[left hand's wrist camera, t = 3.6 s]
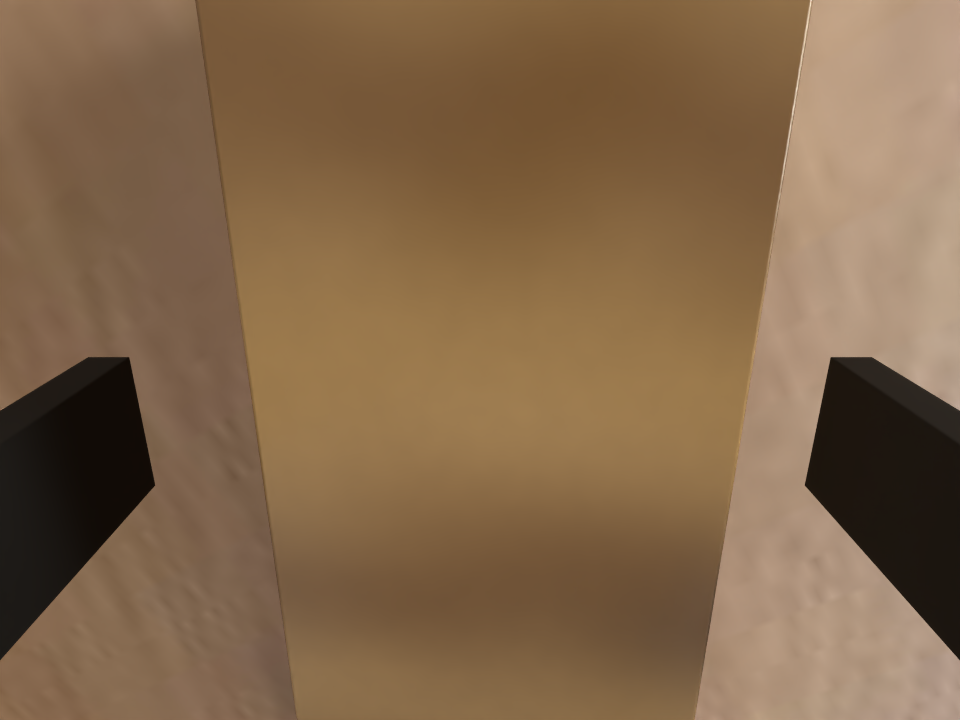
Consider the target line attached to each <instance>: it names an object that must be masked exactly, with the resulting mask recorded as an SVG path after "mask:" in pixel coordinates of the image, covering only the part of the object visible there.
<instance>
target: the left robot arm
mask: <svg viewBox="0 0 960 720" xmlns="http://www.w3.org/2000/svg"><path fill="white" fill-rule="evenodd" d="M154 486H155V482H154V477H153V472H152V467H151V463H150V458H149V453H148V448H147V443H146V438H145V433H144V428H143V423H142V418H141V413H140V408H139V403H138V398H137V393H136V389H135V384H134V379H133V374H132V369H131V364H130V359H129V357H88V358H86V359H85V360H83V361H81V362H80V363H78V364H76V365H75V366H73V367H71V368H70V369H68V370H67V371H65V372H63V373H62V374H60V375H58V376H57V377H55V378H53V379H52V380H50V381H48V382H47V383H45V384H44V385H42V386H40V387H39V388H37V389H35V390H34V391H32V392H30V393H29V394H27V395H25V396H24V397H22V398H21V399H19V400H17V401H16V402H14V403H12V404H11V405H9V406H7V407H6V408H4V409H2V410H1V411H0V660H1V659H2V658H3V656H4V655H5V654H6V653H7V652H8V651H9V650H10V649H11V647H12V646H13V645H14V644H15V643H16V642H17V641H18V640H19V638H20V637H21V636H22V635H23V634H24V633H25V632H26V630H27V629H28V628H29V627H30V626H31V625H32V624H33V623H34V621H35V620H36V619H37V618H38V617H39V616H40V615H41V614H42V612H43V611H44V610H45V609H46V608H47V607H48V606H49V605H50V603H51V602H52V601H53V600H54V599H55V598H56V597H57V596H58V594H59V593H60V592H61V591H62V590H63V589H64V588H65V586H66V585H67V584H68V583H69V582H70V581H71V580H72V579H73V577H74V576H75V575H76V574H77V573H78V572H79V571H80V570H81V568H82V567H83V566H84V565H85V564H86V563H87V562H88V561H89V559H90V558H91V557H92V556H93V555H94V554H95V553H96V552H97V550H98V549H99V548H100V547H101V546H102V545H103V544H104V543H105V541H106V540H107V539H108V538H109V537H110V536H111V535H112V533H113V532H114V531H115V530H116V529H117V528H118V527H119V526H120V524H121V523H122V522H123V521H124V520H125V519H126V518H127V517H128V515H129V514H130V513H131V512H132V511H133V510H134V509H135V508H136V506H137V505H138V504H139V503H140V502H141V501H142V500H143V499H144V497H145V496H146V495H147V494H148V493H149V492H150V491H151V489H152V488H153V487H154ZM805 486H806V487H807V488H808V489H809V491H810V492H811V493H812V494H813V495H814V496H815V497H816V499H817V500H818V501H819V502H820V503H821V504H822V505H823V506H824V508H825V509H826V510H827V511H828V512H829V513H830V514H831V515H832V517H833V518H834V519H835V520H836V521H837V522H838V523H839V524H840V526H841V527H842V528H843V529H844V530H845V531H846V532H847V533H848V535H849V536H850V537H851V538H852V539H853V540H854V541H855V543H856V544H857V545H858V546H859V547H860V548H861V549H862V550H863V552H864V553H865V554H866V555H867V556H868V557H869V558H870V559H871V561H872V562H873V563H874V564H875V565H876V566H877V567H878V568H879V570H880V571H881V572H882V573H883V574H884V575H885V576H886V577H887V579H888V580H889V581H890V582H891V583H892V584H893V585H894V586H895V588H896V589H897V590H898V591H899V592H900V593H901V594H902V596H903V597H904V598H905V599H906V600H907V601H908V602H909V603H910V605H911V606H912V607H913V608H914V609H915V610H916V611H917V612H918V614H919V615H920V616H921V617H922V618H923V619H924V620H925V621H926V623H927V624H928V625H929V626H930V627H931V628H932V629H933V630H934V632H935V633H936V634H937V635H938V636H939V637H940V638H941V640H942V641H943V642H944V643H945V644H946V645H947V646H948V647H949V649H950V650H951V651H952V652H953V653H954V654H955V655H956V656H957V658H958V659H959V660H960V411H959V410H958V409H956V408H954V407H953V406H951V405H949V404H948V403H946V402H944V401H943V400H941V399H939V398H938V397H936V396H935V395H933V394H931V393H930V392H928V391H926V390H925V389H923V388H921V387H920V386H918V385H916V384H915V383H913V382H912V381H910V380H908V379H907V378H905V377H903V376H902V375H900V374H898V373H897V372H895V371H893V370H892V369H890V368H889V367H887V366H885V365H884V364H882V363H880V362H879V361H877V360H875V359H874V358H872V357H831V359H830V364H829V369H828V374H827V379H826V384H825V389H824V393H823V398H822V403H821V408H820V413H819V418H818V423H817V428H816V433H815V438H814V443H813V448H812V453H811V458H810V463H809V467H808V472H807V477H806V482H805Z"/></svg>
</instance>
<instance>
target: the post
mask: <svg viewBox="0 0 960 720" xmlns="http://www.w3.org/2000/svg"><path fill="white" fill-rule="evenodd" d="M195 1H196V8H197V15H198V22H199V29H200V37H201V44H202V51H203V58H204V65H205V72H206V79H207V86H208V93H209V100H210V107H211V115H212V122H213V129H214V136H215V143H216V150H217V157H218V164H219V171H220V178H221V186H222V193H223V200H224V207H225V214H226V221H227V228H228V235H229V242H230V249H231V256H232V264H233V271H234V278H235V285H236V292H237V299H238V306H239V313H240V320H241V327H242V335H243V342H244V349H245V356H246V363H247V370H248V377H249V384H250V391H251V398H252V406H253V413H254V420H255V427H256V434H257V441H258V448H259V455H260V462H261V469H262V476H263V484H264V491H265V498H266V505H267V512H268V519H269V526H270V533H271V540H272V547H273V555H274V562H275V569H276V576H277V583H278V590H279V597H280V604H281V611H282V618H283V625H284V633H285V640H286V647H287V654H288V661H289V668H290V675H291V682H292V689H293V696H294V704H295V711H296V718H297V720H694V719H695V713H696V707H697V701H698V695H699V689H700V682H701V676H702V670H703V664H704V658H705V652H706V646H707V640H708V634H709V628H710V622H711V616H712V610H713V603H714V597H715V591H716V585H717V579H718V573H719V567H720V561H721V555H722V549H723V543H724V537H725V531H726V524H727V518H728V512H729V506H730V500H731V494H732V488H733V482H734V476H735V470H736V464H737V458H738V452H739V445H740V439H741V433H742V427H743V421H744V415H745V409H746V403H747V397H748V391H749V385H750V379H751V373H752V367H753V360H754V354H755V348H756V342H757V336H758V330H759V324H760V318H761V312H762V306H763V300H764V294H765V288H766V281H767V275H768V269H769V263H770V257H771V251H772V245H773V239H774V233H775V227H776V221H777V215H778V209H779V202H780V196H781V190H782V184H783V178H784V172H785V166H786V160H787V154H788V148H789V142H790V136H791V130H792V123H793V117H794V111H795V105H796V99H797V93H798V87H799V81H800V75H801V69H802V63H803V57H804V51H805V45H806V38H807V32H808V26H809V20H810V14H811V8H812V2H813V0H195Z"/></svg>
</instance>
